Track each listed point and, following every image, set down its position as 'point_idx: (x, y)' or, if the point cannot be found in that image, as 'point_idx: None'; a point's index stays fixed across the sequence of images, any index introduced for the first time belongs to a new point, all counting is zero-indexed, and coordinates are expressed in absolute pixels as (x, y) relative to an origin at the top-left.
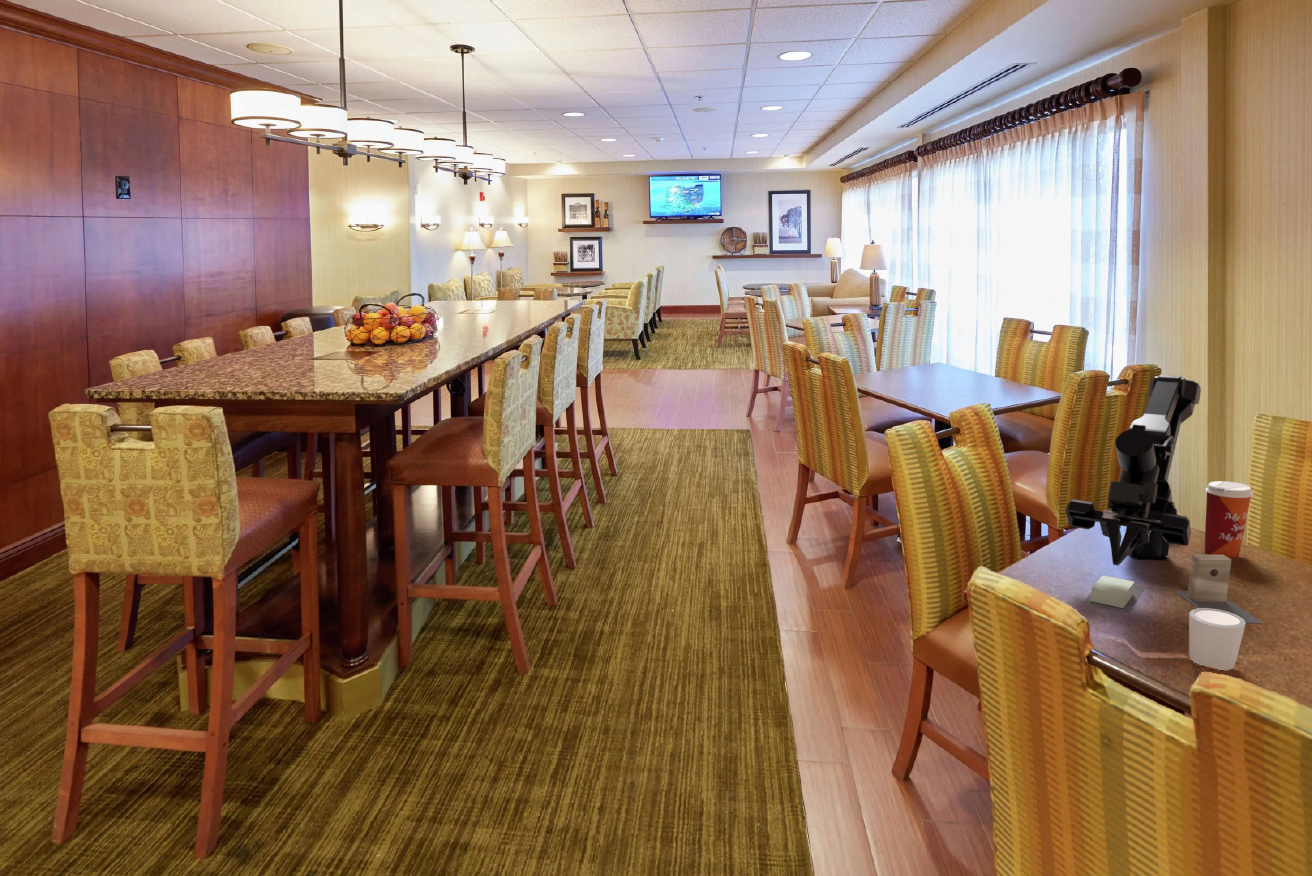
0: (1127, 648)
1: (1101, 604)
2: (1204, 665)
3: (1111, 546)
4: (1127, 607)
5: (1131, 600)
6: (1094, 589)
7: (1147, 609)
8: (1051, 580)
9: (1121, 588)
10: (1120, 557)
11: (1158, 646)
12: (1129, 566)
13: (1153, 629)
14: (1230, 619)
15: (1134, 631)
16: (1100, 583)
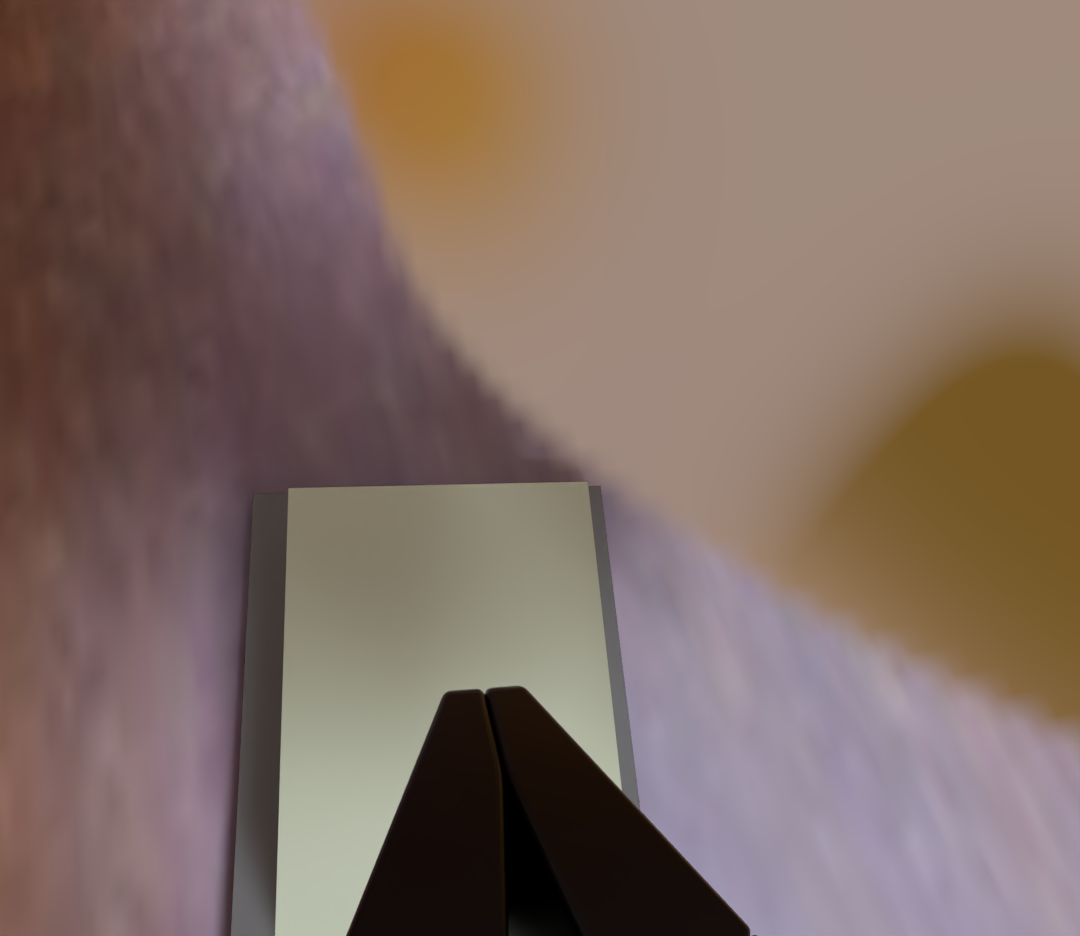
0: (182, 30)
1: None
2: None
3: (680, 863)
4: (283, 591)
5: None
6: (561, 486)
7: (132, 755)
8: (997, 896)
9: (354, 651)
10: (426, 744)
11: (6, 123)
12: None
13: (52, 357)
14: None
15: (177, 259)
16: (568, 663)
